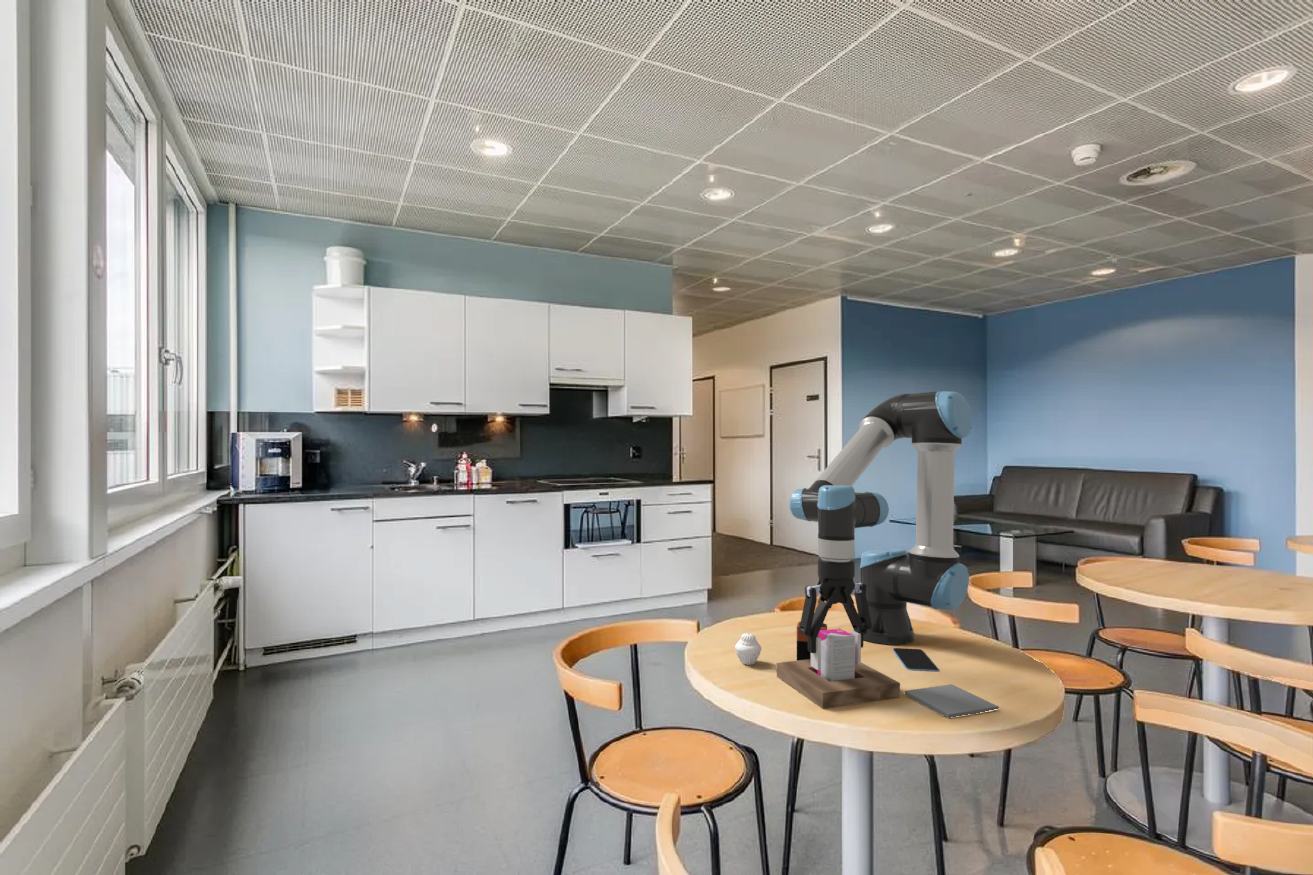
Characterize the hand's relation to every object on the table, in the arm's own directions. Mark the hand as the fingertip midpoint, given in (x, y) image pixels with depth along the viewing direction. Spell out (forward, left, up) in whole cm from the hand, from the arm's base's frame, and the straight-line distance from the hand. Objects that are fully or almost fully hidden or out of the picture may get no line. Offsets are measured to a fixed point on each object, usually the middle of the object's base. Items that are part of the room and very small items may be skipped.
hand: (835, 665), depth 135 cm
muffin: (+11, -19, -5) cm, 22 cm away
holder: (0, 0, -4) cm, 4 cm away
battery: (-3, -14, -5) cm, 15 cm away
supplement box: (0, 0, -5) cm, 5 cm away
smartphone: (-28, -9, -5) cm, 30 cm away
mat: (-17, +14, -4) cm, 22 cm away
